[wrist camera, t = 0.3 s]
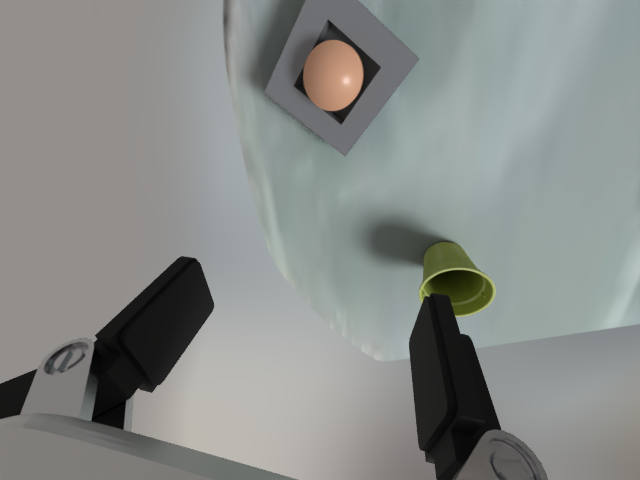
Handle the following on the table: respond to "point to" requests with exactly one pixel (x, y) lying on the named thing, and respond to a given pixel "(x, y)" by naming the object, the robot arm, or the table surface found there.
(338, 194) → the table surface
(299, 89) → the button box
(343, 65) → the push button
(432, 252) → the plant pot
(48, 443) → the robot arm
